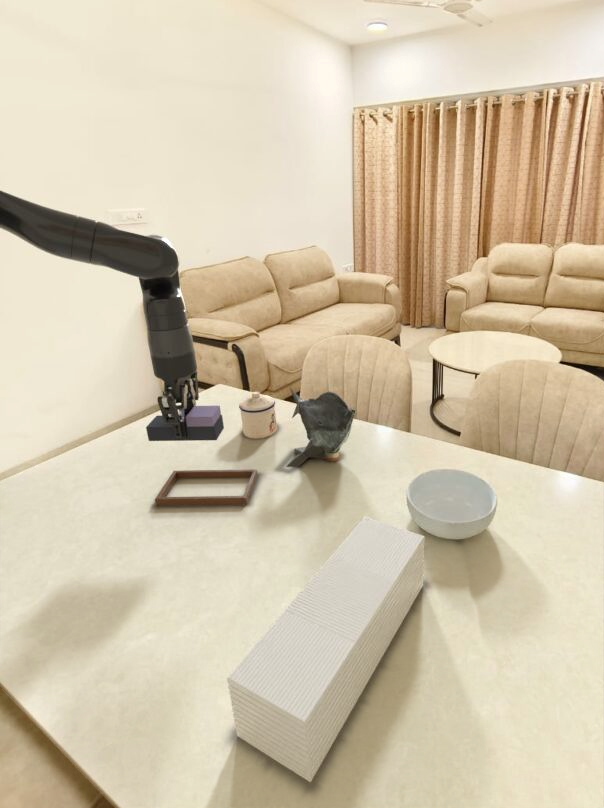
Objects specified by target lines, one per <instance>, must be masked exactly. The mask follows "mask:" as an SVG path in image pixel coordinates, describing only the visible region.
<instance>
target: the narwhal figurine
mask: <svg viewBox="0 0 604 808" xmlns="http://www.w3.org/2000/svg"><path fill="white" fill-rule="evenodd" d="M288 388H289V390H290V392H291V394H292V397H293V399H294V402H295V404H296V405H295V408H294V412H293V414H292V417H291V419H293V418H294V417H295V416H297V415H300V420H301V423H302V424H303V426H304V429H305V432H306V438H307V440H308V441H309V442H308V443H307V445H306V446H301V447H296V448H294V453H295V456H294V457H293V458H292V459H291V460H290V461H289V462H288V464H287V465H286V466H285V467H286V468H287V467H288V468H296V469H297V468H299V467H300V466H301V465H302V464H303V463H304V462H305V461H306V460H308V459H309V458H317V459H324V460H327V461H330V462H333V461H338V460H339V459H340V458H341V454H340V450H341V448H342V446H343V445H344V443H346V442H347V441H348V439H349V437H350V433H351V431H352V425H353V421H354V419H355V415H356V409H353V408H349V407H348V405H347V403H346V401H345V400H343V398H342V397H340V395H338V394H337V393H336V392H333V391H326V392H323V393H322V394H320V395H319V396H318V397H317V398H307V399H302V398H301V397H300V396H299V395H298V394H297V393H296V392H295V391H294V390H293V389H292V388H291V387H288Z"/></svg>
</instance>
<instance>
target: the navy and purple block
mask: <svg viewBox="0 0 604 808" xmlns="http://www.w3.org/2000/svg"><path fill="white" fill-rule="evenodd" d="M184 420H185V425H186V431H187V438H186V439H184V440H177V439H175V437H174V432H173V427H172V424H165V422H164V419H163V416H162V415H156V416H154V418H153V419H152V420H151V421H150V422H149V423H148V425H147V426H146V427H145V430H146V434H147V439H148V441H149V442H181V441H183V442H185V441H186V442H187V441H188V442H189V441H190V442H191V441H195V442H196V441H197V442H198V441H218V439H219V437H220V435H221V434H222V432H223V430H224V428H225V426H224V419H223V414H222V412H221V405H196V406H194V407H193V409H192V410H191V411H190V412H189V414H188V415H184Z"/></svg>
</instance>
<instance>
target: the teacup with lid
mask: <svg viewBox="0 0 604 808" xmlns="http://www.w3.org/2000/svg"><path fill="white" fill-rule="evenodd" d="M238 407H239V411H240V418H241V425H242V433H243V435H244V436H245V437H247V438H249V439H264V438H267V437H270V436H273V435H274V434H275V433H276V432H277V429H278V428H277V427H278V426H277V420H276V419H277V418H276V417H277V416H276V409H275V407H276V401H275V399H274V398H273V397H272V396H270V395H267V394H261V392H259V391H253V392H252V393H251V395H249V396H247V397H244V398H243V399H242V400H241V401H240V402H239V405H238Z"/></svg>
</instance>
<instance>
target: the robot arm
mask: <svg viewBox="0 0 604 808" xmlns="http://www.w3.org/2000/svg"><path fill="white" fill-rule="evenodd" d="M0 229H1V230H3V231H6V232H8V233H10V234H12V235H14V236H16V237H17V238H19V239H21V240H22V241H24V242H26V243H27V244H29V245H32V246H33V247H35V248H37V250H38V249H39V250H40V251H43V252H44V253H47V254H49V255H52V256H56V257H58V258H62V259H65V260H69V261H70V260H71V261H73V262H79V263H84V264H88V265H93V266H99V267H105V268H109V269H112V270H114V271H116V272H120V273H123V274H126V275H130V276H132V277H136V278H138V281H139V285H140V289H141V294H142V309H143V316H144V321H145V324H146V325H145V326H146V333H147V334H146V336H147V337H146V338H147V344H148V351H149V355H150V360H151V367H152V370H153V371H152V372H153V374H154V376H155V377H156V378H157V379H160V380H162V381H163V392H164V394H163V395H161V396H158V397H157V398H156V399H157V404H158V407H159V410H160V413H161V416H163V419H164V422H165V424H172V427H173V432H174V437H175V439H177V440H184V439H186V438H187V431H186V425H185V420H184V415H188V414H189V412H190V411H191V410H192V409H193V407H194V406H197V401H199V398H200V396H199V383H198V372H197V370H198V365H197V357H196V351H195V344H194V340H193V334H192V331H191V327H190V323H189V317H188V311H187V305H186V301H185V297H184V295H183V292H182V288H181V287H182V286H181V279H180V272H179V267H180V256H179V254H178V251H177V250H176V248H175V247H176V246H174V244H173V243H172V242H171V241H170V240H169V239H167V238H166V237H165V236H162V235H158V234H148V235H142V234H139V233H135V232H130V231H127V230H123V229H118V228H117V227H116V226H113V225H111V224H109V223H106V222H103V221H99V220H96V219H92V218H88V217H85V216H80V215H77V214H72V213H68V212H64V211H61V210H58V209H54V208H51V207H47V206H45V205H41V204H38V203H35V202H33V201H30V200H27V199H24V198H22V197H19V196H16V195H13V194H11V193H8V192H5V191H4V190H0Z"/></svg>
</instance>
